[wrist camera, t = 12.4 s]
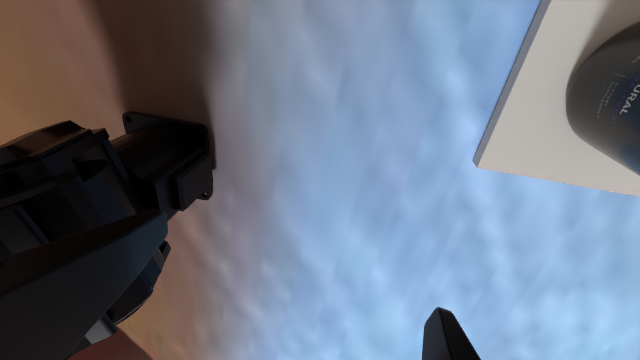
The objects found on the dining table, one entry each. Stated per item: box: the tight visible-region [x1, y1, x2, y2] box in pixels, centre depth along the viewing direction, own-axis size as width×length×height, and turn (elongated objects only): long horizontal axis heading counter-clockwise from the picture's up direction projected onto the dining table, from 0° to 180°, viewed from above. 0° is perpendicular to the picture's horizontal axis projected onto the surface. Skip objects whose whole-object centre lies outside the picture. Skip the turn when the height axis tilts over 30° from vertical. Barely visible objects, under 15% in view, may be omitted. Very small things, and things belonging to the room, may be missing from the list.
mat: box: [473, 0, 640, 197], centre depth 15 cm, size 12×12×1 cm
